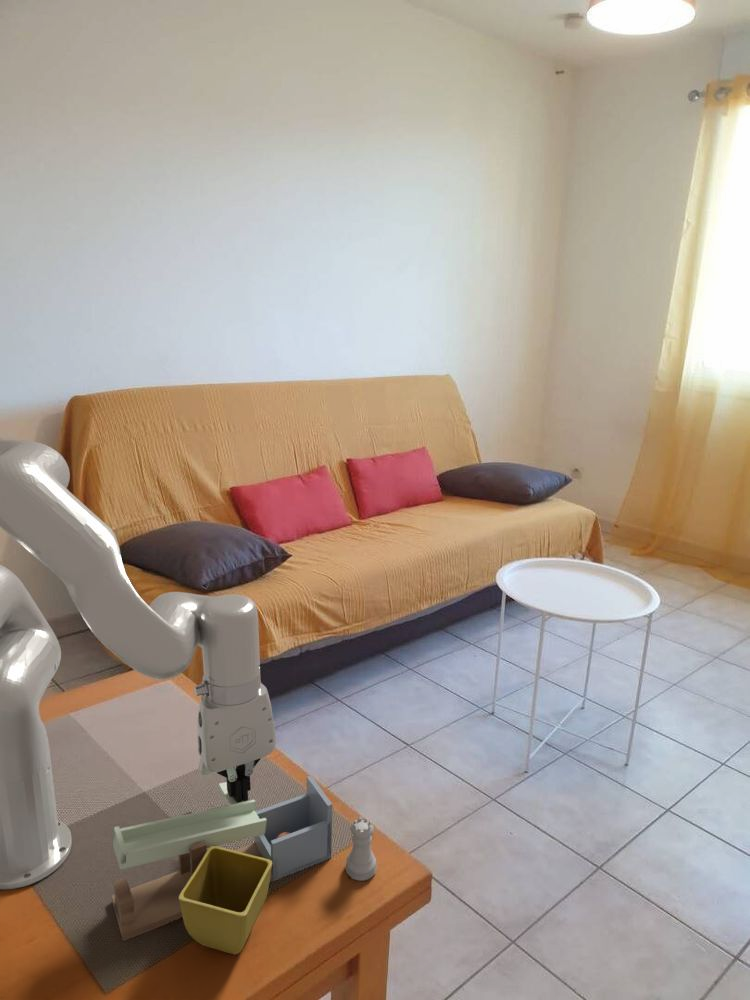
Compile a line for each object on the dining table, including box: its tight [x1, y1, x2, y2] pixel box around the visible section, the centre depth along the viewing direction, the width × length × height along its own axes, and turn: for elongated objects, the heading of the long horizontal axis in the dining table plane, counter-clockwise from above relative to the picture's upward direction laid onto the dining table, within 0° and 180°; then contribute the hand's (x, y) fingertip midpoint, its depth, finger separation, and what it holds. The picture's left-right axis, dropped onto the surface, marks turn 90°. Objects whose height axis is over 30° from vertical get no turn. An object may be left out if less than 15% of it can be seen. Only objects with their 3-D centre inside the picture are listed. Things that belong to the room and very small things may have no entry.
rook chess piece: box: [345, 816, 378, 882], centre depth 100 cm, size 4×4×8 cm
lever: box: [112, 781, 267, 871], centre depth 97 cm, size 11×19×3 cm, turn 120°
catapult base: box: [111, 811, 274, 942], centre depth 96 cm, size 7×20×10 cm, turn 120°
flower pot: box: [178, 846, 272, 955], centre depth 89 cm, size 9×9×9 cm
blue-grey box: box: [253, 775, 333, 882], centre depth 103 cm, size 7×9×9 cm
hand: (239, 796), depth 103 cm, fingers closed
